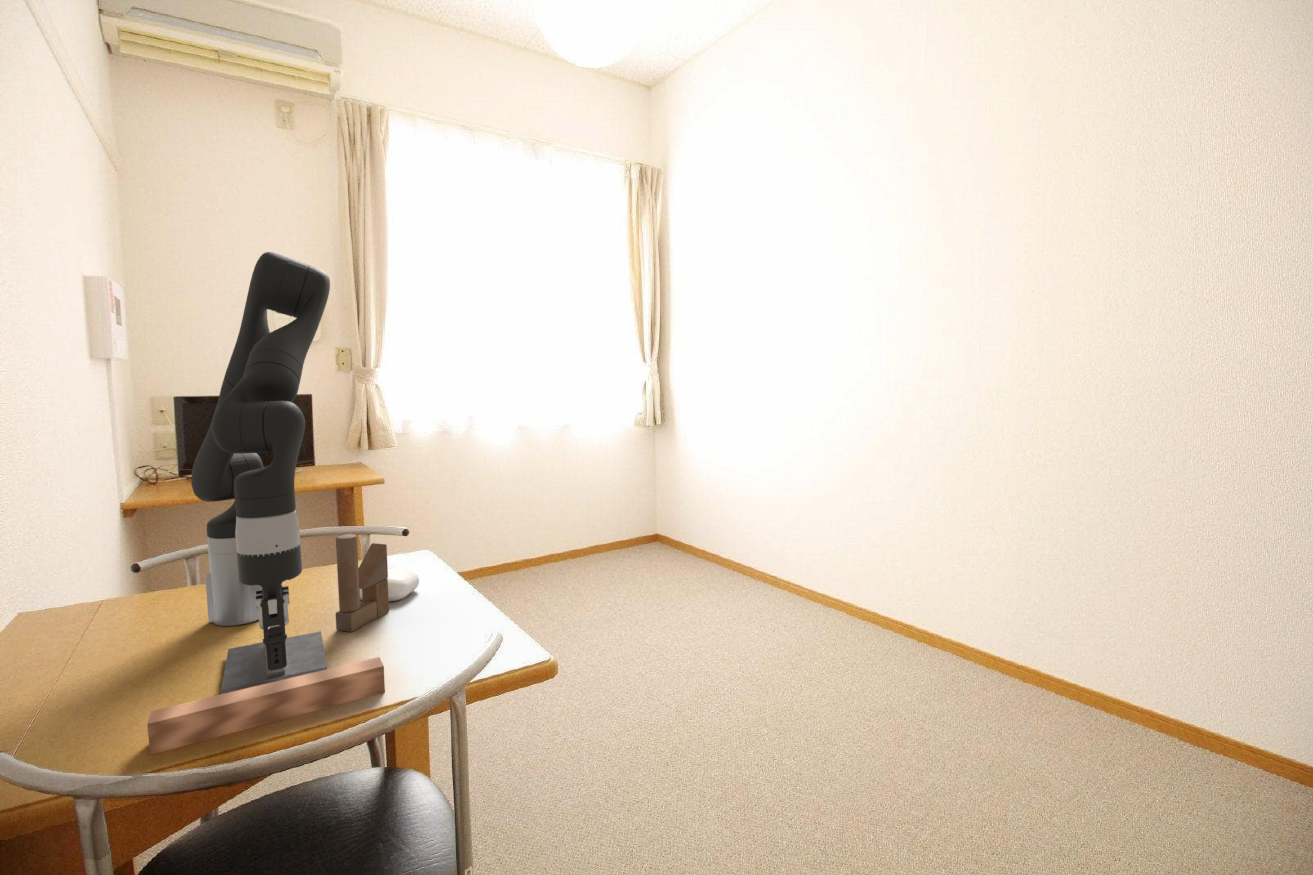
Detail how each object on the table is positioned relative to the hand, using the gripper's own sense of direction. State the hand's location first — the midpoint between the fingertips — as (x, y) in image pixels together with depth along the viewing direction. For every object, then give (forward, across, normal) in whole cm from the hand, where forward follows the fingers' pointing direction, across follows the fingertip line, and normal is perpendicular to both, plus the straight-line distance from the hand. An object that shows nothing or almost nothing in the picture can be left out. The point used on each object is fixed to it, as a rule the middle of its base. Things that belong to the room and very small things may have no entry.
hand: (277, 656), depth 87 cm
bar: (+9, 0, 0) cm, 9 cm away
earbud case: (+9, +43, -20) cm, 48 cm away
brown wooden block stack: (+9, +30, -14) cm, 35 cm away
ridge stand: (+8, +17, 0) cm, 19 cm away
